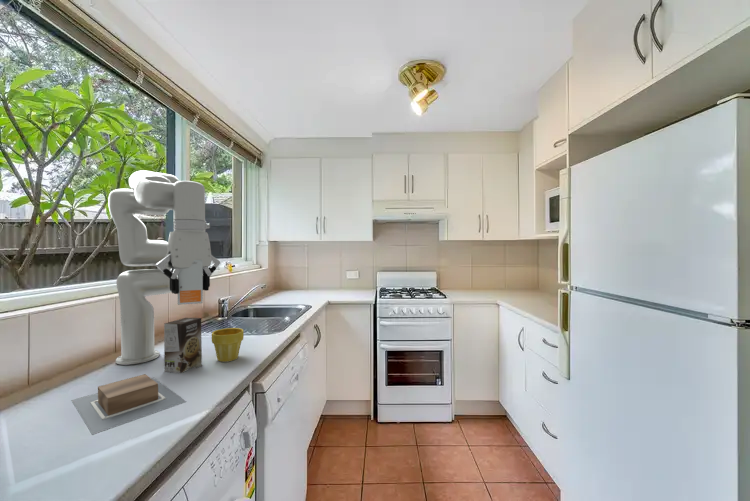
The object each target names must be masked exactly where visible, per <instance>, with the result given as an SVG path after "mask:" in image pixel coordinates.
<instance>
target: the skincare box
mask: <svg viewBox="0 0 750 501" xmlns="http://www.w3.org/2000/svg"><path fill="white" fill-rule="evenodd" d="M177 279H179V293H178V294H177V305H178V306H180V305H192V304H194V305H195V304H197V305H198V304H203V301H204V300H203V299H204V298H203V296H204V295H203V294H204V292H203V291H204V290H203V260H194V261H193V263H192V265H191V267H189V268H185V269H181V270H180V272H179V273H178V275H177Z"/></svg>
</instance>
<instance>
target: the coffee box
mask: <svg viewBox="0 0 750 501" xmlns="http://www.w3.org/2000/svg"><path fill="white" fill-rule="evenodd" d="M163 327H164V329H163V331H164V332H163V334H164V335H163V338H164V340H163V341H164V346H163V348H164V352H163V353H164V355H163V356H164V357H163V358H164V359H163V360H164V363H163V364H164V365H163V366H164V373H175V374H182V373H184V372H186V371H188V370H190V369H192V368H196V369H198V368H200V367H201V366H203V365H202V364H203V358H202V354H203V352H202V348H203V347H202V317H183V318H180V319H176V320H173V321H169V322H165V323H164V324H163Z"/></svg>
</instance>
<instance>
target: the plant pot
mask: <svg viewBox="0 0 750 501" xmlns="http://www.w3.org/2000/svg"><path fill="white" fill-rule="evenodd" d="M244 334H245V333H244V329H243V328H240V327H227V328H226V327H225V328H220V329H216V330H213V331H212V333H211V343H212V344H213V346H214V350H215V355H216V359H217V361H218V362H221V363H224V362H225V363H227V362H231V361H235V360H237V359H238V358H239V355H240V349H241V344H242V341H244Z"/></svg>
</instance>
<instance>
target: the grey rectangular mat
mask: <svg viewBox="0 0 750 501" xmlns="http://www.w3.org/2000/svg"><path fill="white" fill-rule="evenodd" d="M150 378H151V379H152V380H154V381H155V382H156V383H158V400H155V401H152V402H149V403H146V404H142V405H139V406H136V407H133V408H130V409H127V410H124V411H121V412H118V413H115V414H112V415H109V416H108V415H107V413H106V412H105V411H104V409H103V408H102V407H101V406H100V404H99V403H98V392H95V393H92V394H89V395H85V396H82V397H77V398H74V399H72V400H70V401H71V402H72V404H73V405H74V408H76V411H77V412H78V414H79V416H80V417H81V419H82V420H83V423H84V424H85V425H86V427H87V428H88V430H89V432H90V434H91V435H93V436H94V435H96V434H99V433H102V432H105V431H108V430H110V429H113V428H116V427H118V426H121V425H124V424H127V423H130V422H133V421H135V420H138V419H141V418H145V417H147V416H151V415H154V414H156V413H159V412H162V411H164V410H167V409H170V408H172V407H176V406H179V405H182V404H184V403H186V402H187V400H185V399H183V398H182V397H181V396H180V395H178V394H177V393H175V391H173V390H171V389H170V388H169V387H167V386H166V385H165V384H164V383H162V382H160V381H159V380H158V379H157V378H155V377H153V376H152V377H150Z"/></svg>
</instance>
